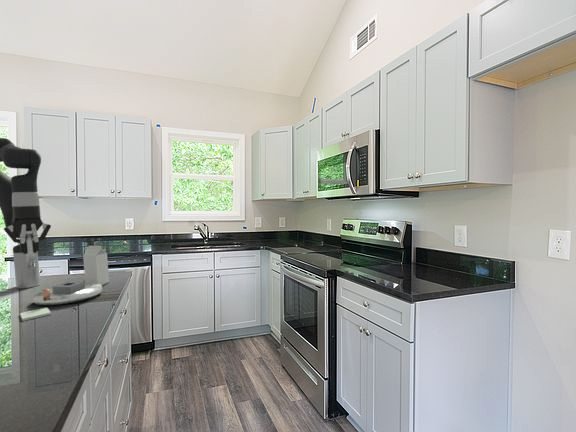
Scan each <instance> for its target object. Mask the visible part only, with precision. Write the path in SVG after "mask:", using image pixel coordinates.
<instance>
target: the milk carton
mask: <svg viewBox="0 0 576 432" xmlns="http://www.w3.org/2000/svg"><path fill="white" fill-rule="evenodd" d="M83 254H84V253H83ZM82 258H83V259H82V260H83V272H84V282H85V283H95V284H100V285H102V286H103V285H106V284H108V283H110V278H109V264H108V253H107V252H106V251H105V250H104V249H103V248H102V245H91V246H90V245H88V248H87V250H85V254H84V255H83V256H82Z"/></svg>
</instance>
